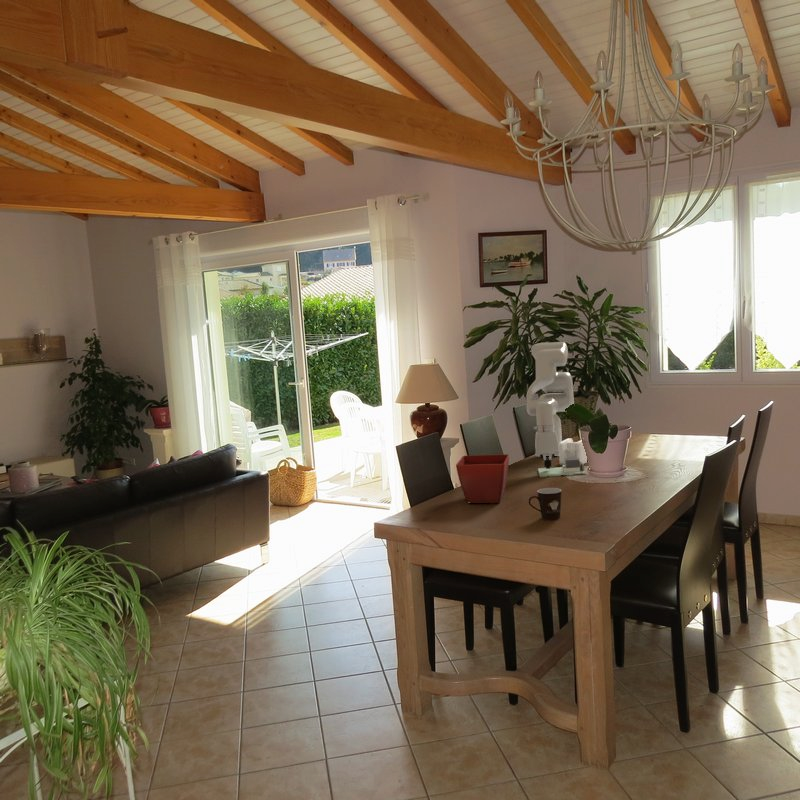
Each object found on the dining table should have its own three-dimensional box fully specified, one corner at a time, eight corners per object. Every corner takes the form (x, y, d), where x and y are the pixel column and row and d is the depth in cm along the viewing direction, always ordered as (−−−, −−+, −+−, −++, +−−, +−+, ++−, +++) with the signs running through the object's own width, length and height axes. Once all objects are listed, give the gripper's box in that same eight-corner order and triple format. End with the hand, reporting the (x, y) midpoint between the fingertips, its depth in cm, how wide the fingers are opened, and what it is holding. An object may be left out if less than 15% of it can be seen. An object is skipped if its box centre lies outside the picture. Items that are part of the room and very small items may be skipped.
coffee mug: (563, 514, 279) (561, 487, 277) (563, 521, 270) (561, 493, 269) (531, 515, 281) (529, 488, 280) (529, 521, 273) (527, 494, 272)
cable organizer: (580, 467, 357) (578, 443, 356) (558, 466, 363) (557, 442, 361) (590, 461, 369) (589, 437, 368) (569, 460, 375) (568, 437, 374)
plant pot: (507, 506, 297) (504, 463, 296) (458, 506, 302) (455, 464, 300) (511, 494, 316) (509, 453, 314) (466, 495, 321) (463, 455, 319)
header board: (538, 470, 357) (537, 460, 357) (581, 468, 355) (581, 457, 354) (539, 477, 344) (539, 466, 343) (585, 474, 341) (584, 463, 341)
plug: (565, 469, 350) (565, 458, 350) (579, 468, 349) (578, 458, 349) (566, 471, 346) (565, 460, 346) (580, 470, 345) (579, 459, 345)
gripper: (529, 430, 345) (531, 470, 347) (563, 428, 343) (565, 469, 345) (528, 428, 353) (531, 467, 355) (561, 426, 351) (563, 465, 353)
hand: (548, 468), depth 350 cm, fingers closed
